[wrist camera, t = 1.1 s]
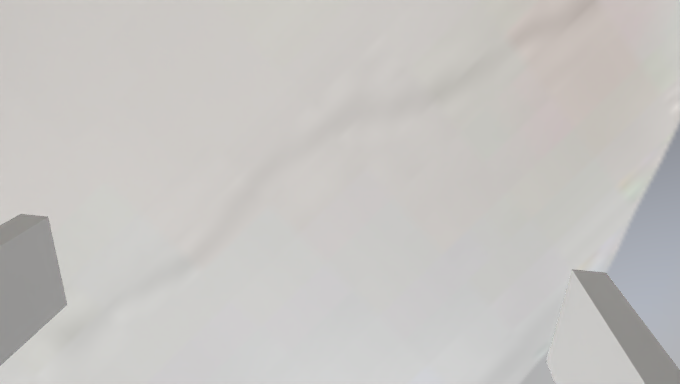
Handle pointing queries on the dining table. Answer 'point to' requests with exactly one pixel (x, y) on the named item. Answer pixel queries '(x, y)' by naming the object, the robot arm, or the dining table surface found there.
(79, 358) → the dining table surface
